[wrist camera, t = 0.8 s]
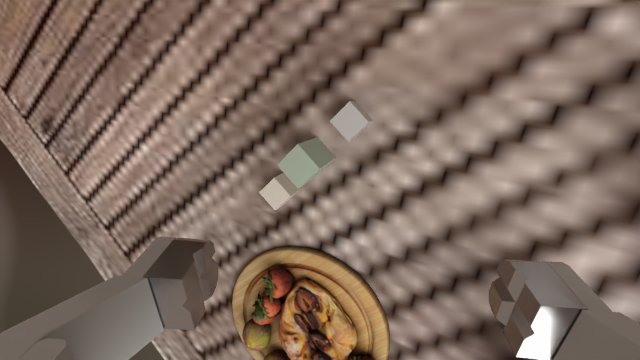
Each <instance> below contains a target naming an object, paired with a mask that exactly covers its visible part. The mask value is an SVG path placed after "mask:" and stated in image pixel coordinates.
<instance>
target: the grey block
mask: <svg viewBox="0 0 640 360" xmlns="http://www.w3.org/2000/svg"><path fill="white" fill-rule="evenodd" d="M372 121H373V120H372V119H371V118H370V117H369V115H368V114H367V113H366V112H365V111H364V110H363V109H362V108H361V107H360V106H359V104H358V103H357V102H356V101H349V102H348V103H347V104H346V105H345V106H344V107H343V108H342V109H341V110H340V111H339V112H338V113H337V114H336V115H335V116H334V117H333V118H332V119H331V120H330V122H331V123H332V124H333V125H334V126H335V128H336V129H337V130H338V131H339V132H340V133H341V134H342V135H343V136H344V138H345V139H346V140H347V141H348V142H349V141H351V140H352V139H354V138H355V137H356V136H357V135H358V134H359V133H360V132H361V131H363V130H364V129H365V128H366V127H367V126H368V125H369V124H370V123H371V122H372Z"/></svg>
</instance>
